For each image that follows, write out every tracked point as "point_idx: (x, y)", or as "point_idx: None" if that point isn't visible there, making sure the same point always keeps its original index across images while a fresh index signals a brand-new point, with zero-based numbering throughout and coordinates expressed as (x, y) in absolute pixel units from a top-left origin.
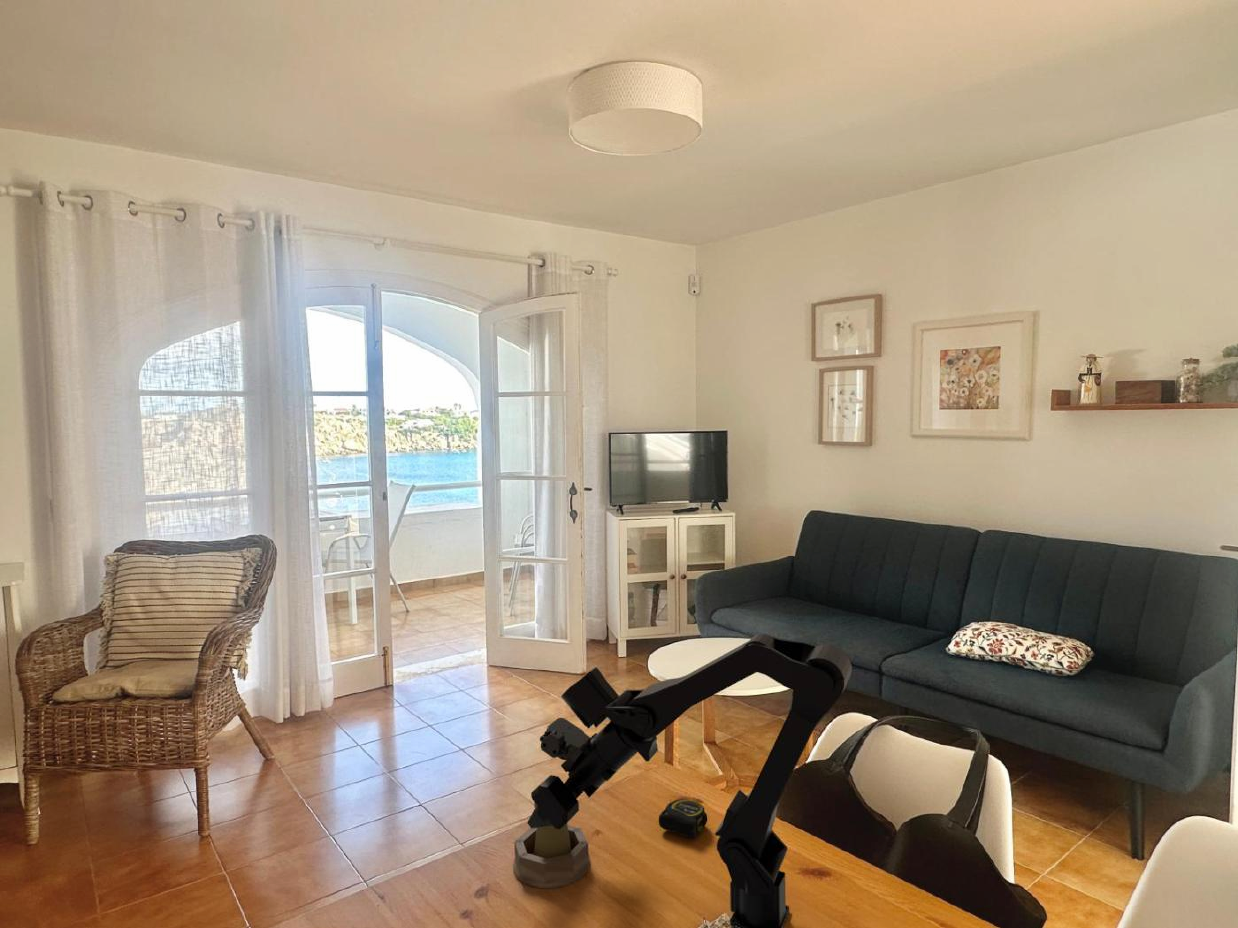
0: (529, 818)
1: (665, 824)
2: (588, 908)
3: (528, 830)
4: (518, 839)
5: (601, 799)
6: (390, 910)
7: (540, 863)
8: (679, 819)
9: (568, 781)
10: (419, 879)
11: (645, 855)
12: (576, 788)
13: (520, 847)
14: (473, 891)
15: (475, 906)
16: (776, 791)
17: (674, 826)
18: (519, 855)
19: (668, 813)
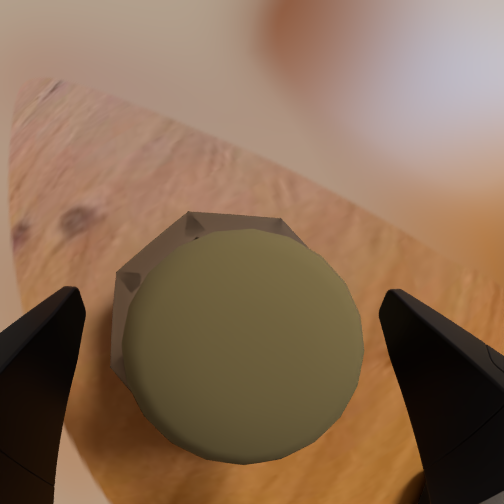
0: (41, 303)
1: None
2: (117, 472)
3: (260, 222)
4: (201, 218)
5: (481, 289)
6: (25, 119)
7: (112, 352)
8: None
9: (444, 353)
10: (97, 98)
11: (345, 493)
12: (420, 401)
13: (161, 248)
14: (75, 203)
15: (38, 236)
16: None
17: (426, 499)
18: (121, 268)
19: None
